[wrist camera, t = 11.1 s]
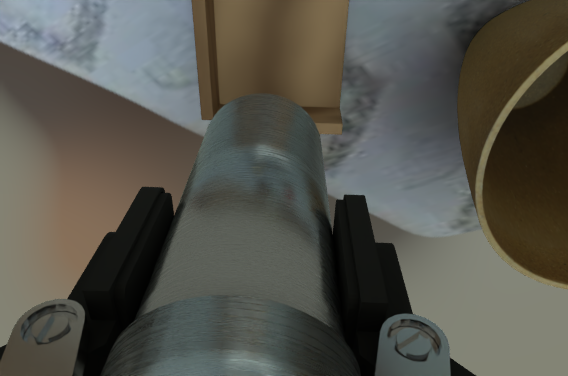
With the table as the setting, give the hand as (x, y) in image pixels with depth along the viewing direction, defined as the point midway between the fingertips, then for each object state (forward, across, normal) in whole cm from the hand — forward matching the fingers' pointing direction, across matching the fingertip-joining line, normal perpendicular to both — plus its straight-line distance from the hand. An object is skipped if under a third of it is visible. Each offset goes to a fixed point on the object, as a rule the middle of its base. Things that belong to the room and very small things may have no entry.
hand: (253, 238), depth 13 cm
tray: (+23, 0, 0) cm, 23 cm away
